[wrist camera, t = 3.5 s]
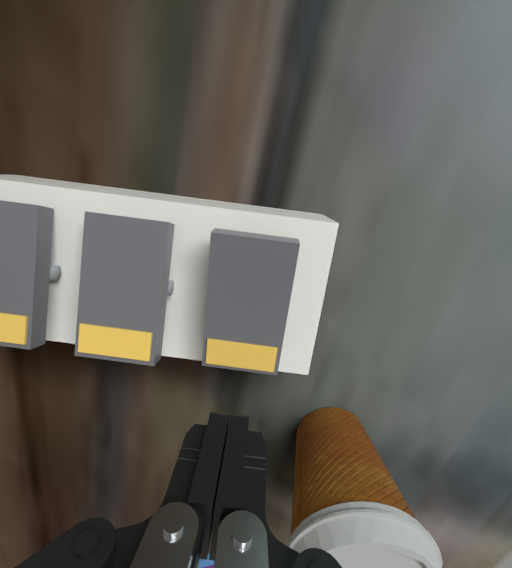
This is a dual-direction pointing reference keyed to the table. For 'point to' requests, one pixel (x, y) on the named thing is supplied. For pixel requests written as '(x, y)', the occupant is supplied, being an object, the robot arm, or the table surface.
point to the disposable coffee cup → (352, 499)
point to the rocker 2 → (123, 288)
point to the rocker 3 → (248, 300)
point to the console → (180, 257)
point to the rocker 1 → (24, 273)
